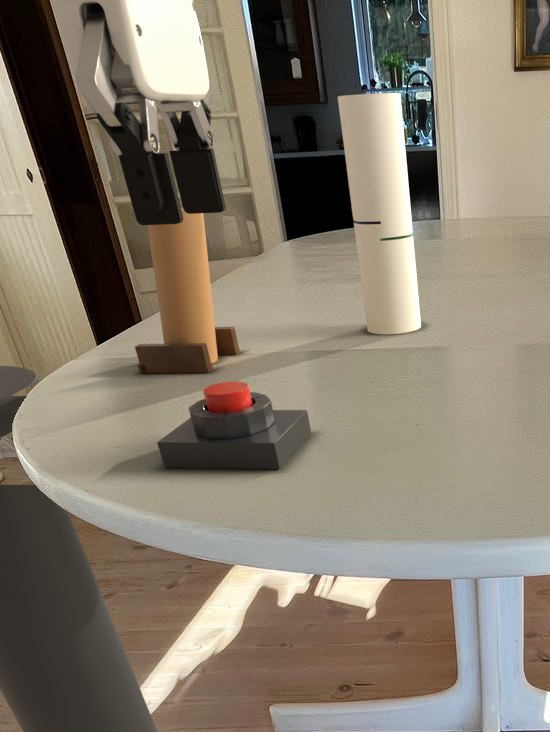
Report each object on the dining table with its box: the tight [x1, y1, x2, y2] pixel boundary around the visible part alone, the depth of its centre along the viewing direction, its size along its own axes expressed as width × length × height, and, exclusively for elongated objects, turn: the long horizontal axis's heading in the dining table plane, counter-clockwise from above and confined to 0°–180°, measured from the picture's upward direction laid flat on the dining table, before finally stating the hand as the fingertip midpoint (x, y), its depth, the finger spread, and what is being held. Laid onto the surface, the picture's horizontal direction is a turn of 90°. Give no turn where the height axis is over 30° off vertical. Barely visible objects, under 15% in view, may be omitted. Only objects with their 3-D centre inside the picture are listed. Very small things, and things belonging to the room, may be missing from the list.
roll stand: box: [134, 326, 241, 374], centre depth 87 cm, size 8×9×3 cm
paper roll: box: [147, 201, 219, 364], centre depth 83 cm, size 6×6×16 cm
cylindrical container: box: [337, 92, 422, 335], centre depth 91 cm, size 7×7×25 cm
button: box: [202, 381, 253, 413], centre depth 61 cm, size 4×4×2 cm
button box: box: [156, 391, 312, 470], centre depth 62 cm, size 10×8×4 cm
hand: (183, 215), depth 53 cm, fingers open, 6 cm apart
